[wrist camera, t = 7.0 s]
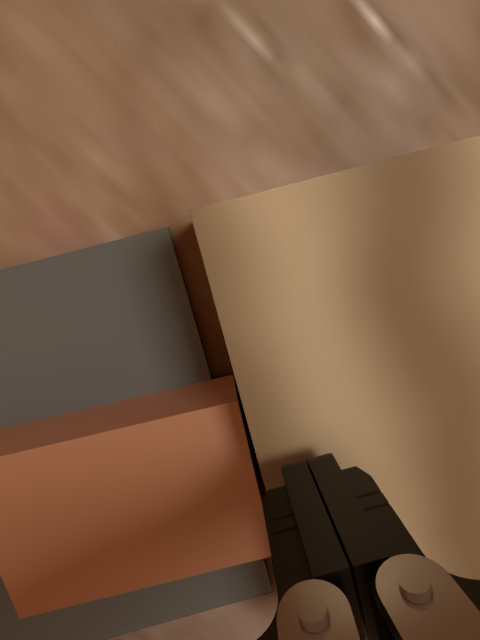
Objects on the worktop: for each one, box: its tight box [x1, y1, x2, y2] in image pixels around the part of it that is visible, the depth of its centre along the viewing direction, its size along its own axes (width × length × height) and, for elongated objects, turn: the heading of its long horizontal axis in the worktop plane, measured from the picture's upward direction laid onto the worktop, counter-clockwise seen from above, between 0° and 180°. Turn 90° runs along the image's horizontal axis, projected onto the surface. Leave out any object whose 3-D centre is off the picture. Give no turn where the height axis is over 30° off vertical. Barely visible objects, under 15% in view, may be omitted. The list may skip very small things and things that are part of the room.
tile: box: [0, 375, 271, 619], centre depth 13 cm, size 9×6×2 cm, turn 102°
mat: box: [0, 227, 273, 640], centre depth 14 cm, size 12×16×1 cm
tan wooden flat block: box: [189, 135, 480, 640], centre depth 13 cm, size 12×16×4 cm
